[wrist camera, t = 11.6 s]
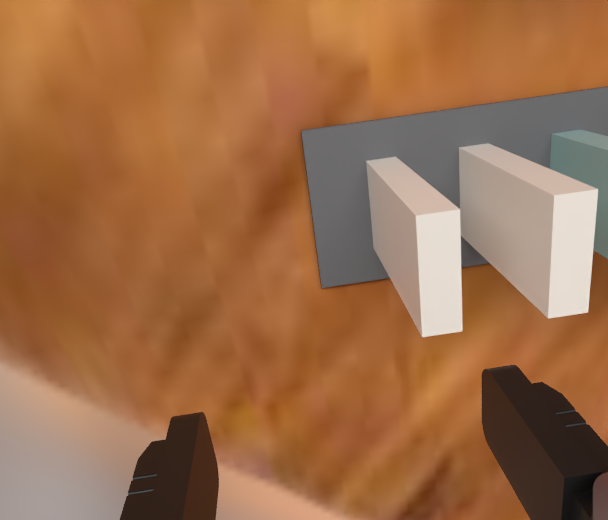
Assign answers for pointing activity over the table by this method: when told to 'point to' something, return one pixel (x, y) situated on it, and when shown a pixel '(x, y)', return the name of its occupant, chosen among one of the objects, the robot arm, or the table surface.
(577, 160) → the domino
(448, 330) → the domino
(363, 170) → the strip
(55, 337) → the table surface
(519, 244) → the domino
